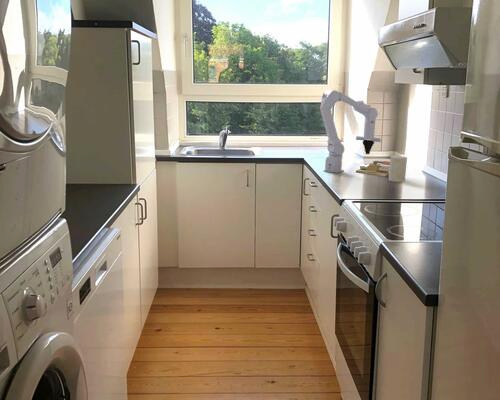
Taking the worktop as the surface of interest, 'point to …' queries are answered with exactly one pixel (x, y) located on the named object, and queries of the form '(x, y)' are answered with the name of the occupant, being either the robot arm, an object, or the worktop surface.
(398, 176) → the cup
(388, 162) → the valve lever
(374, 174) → the mount board
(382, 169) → the valve pipe
